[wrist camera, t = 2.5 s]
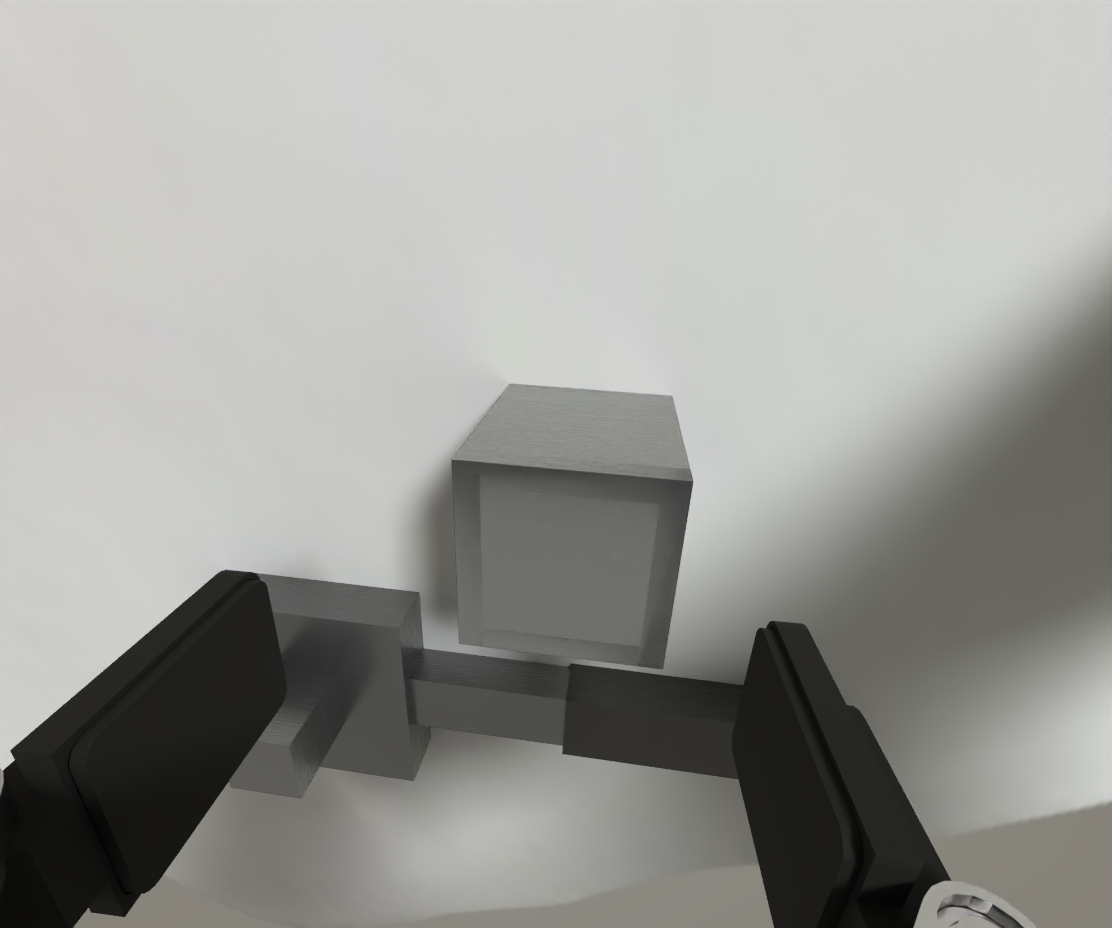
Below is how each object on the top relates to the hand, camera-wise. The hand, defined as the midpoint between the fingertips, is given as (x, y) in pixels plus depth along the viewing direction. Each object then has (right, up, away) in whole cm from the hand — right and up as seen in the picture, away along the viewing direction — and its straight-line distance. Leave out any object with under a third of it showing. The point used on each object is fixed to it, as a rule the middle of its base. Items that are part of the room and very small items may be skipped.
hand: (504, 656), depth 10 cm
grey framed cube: (+2, +4, +7) cm, 8 cm away
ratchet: (-2, -5, +12) cm, 13 cm away
